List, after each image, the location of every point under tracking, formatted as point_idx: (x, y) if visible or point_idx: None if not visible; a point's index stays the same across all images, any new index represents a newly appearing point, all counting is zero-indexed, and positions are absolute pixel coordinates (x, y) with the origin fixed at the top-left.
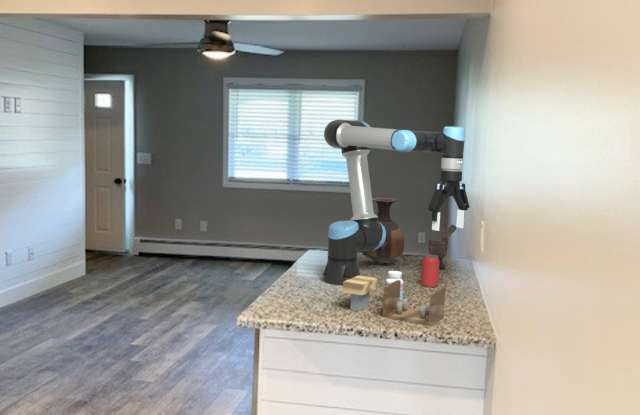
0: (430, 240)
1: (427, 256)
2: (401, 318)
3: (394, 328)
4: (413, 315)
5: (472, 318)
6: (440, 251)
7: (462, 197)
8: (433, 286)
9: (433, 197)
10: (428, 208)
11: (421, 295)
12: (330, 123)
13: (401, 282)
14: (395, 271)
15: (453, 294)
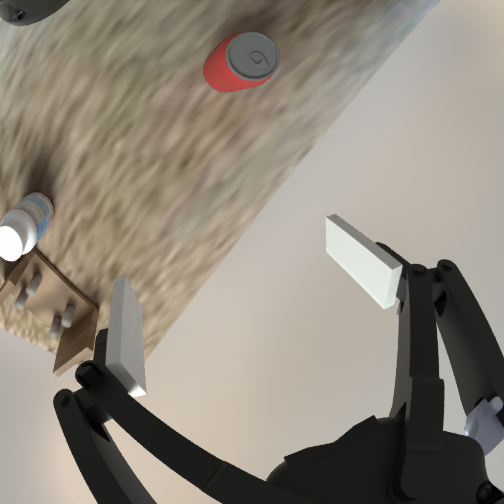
0: None
1: (228, 62)
2: (27, 306)
3: (15, 328)
4: (46, 305)
5: (147, 322)
6: None
7: (457, 343)
8: (222, 91)
9: (94, 485)
10: (55, 402)
11: (136, 151)
12: None
13: (27, 252)
14: (10, 234)
15: (224, 167)
